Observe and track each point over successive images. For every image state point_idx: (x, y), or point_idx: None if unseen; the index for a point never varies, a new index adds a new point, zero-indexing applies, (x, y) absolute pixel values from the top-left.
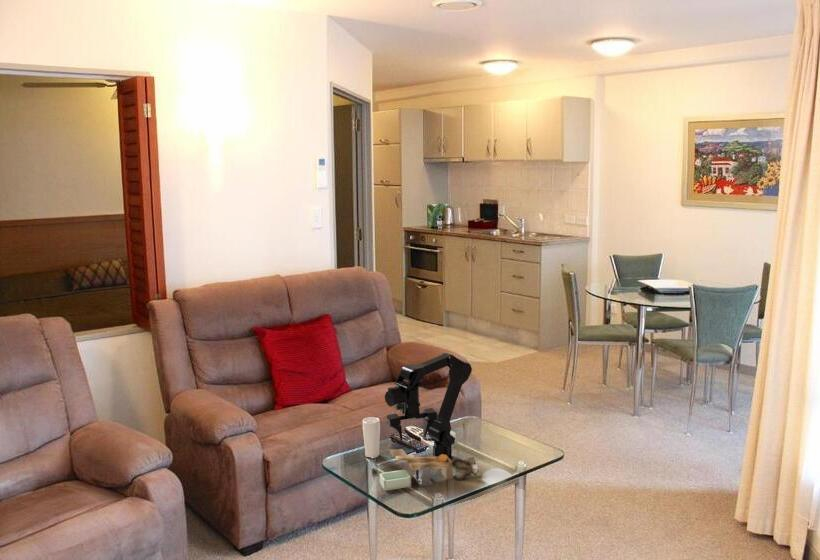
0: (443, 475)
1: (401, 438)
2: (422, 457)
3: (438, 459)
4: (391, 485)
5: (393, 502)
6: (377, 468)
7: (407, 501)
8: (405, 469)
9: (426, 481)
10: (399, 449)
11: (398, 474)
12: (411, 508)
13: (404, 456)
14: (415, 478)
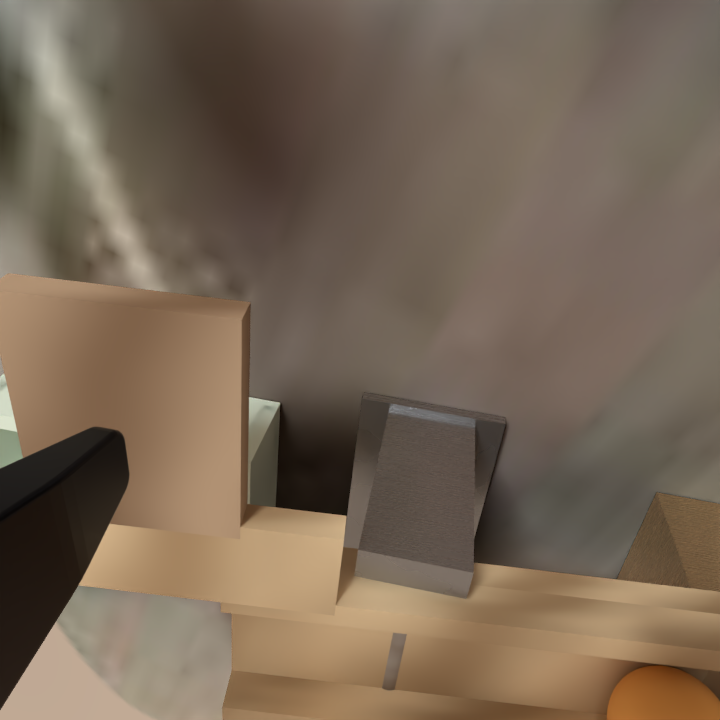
0: (641, 529)
1: (72, 557)
2: (437, 623)
3: (611, 708)
4: None
5: (92, 626)
6: (33, 32)
7: (183, 656)
8: (249, 463)
9: None
10: (176, 324)
11: None
12: (184, 712)
13: (188, 555)
14: (354, 470)
